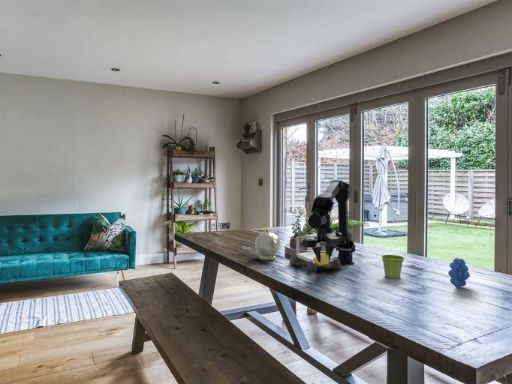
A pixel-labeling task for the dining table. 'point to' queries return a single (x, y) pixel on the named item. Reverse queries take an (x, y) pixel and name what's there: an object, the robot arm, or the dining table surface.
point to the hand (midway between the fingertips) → (323, 261)
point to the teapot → (267, 245)
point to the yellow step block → (322, 259)
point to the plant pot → (392, 265)
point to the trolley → (311, 257)
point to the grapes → (458, 273)
